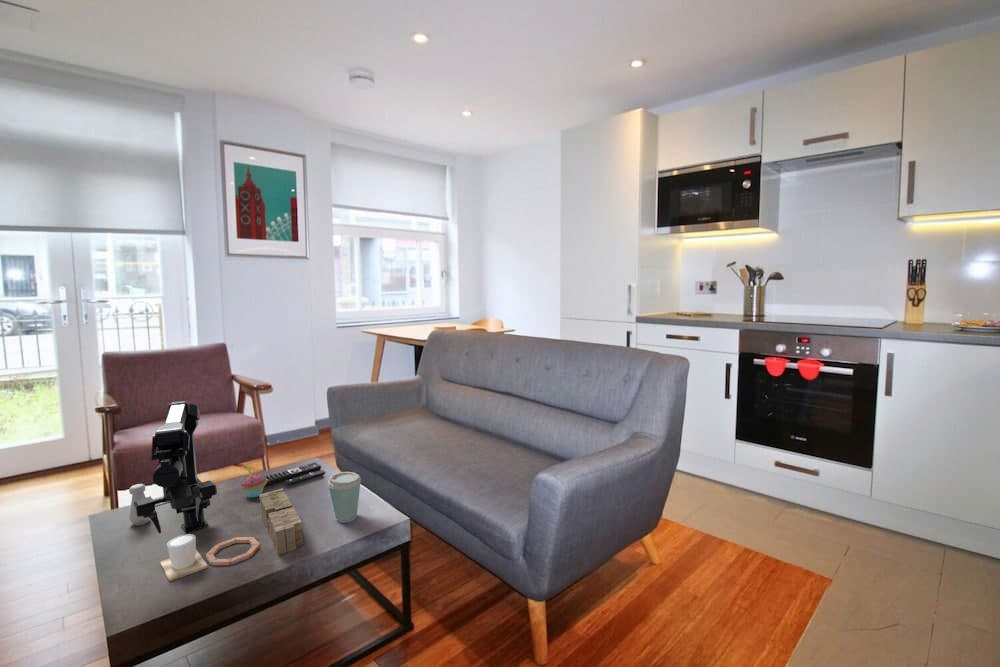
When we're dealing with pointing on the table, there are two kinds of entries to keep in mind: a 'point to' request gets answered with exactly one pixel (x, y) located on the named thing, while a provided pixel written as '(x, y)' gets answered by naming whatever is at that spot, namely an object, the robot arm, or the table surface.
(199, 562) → the beige flat pad
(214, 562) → the ring coaster
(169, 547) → the white cylinder
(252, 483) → the cupcake
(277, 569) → the table surface
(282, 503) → the block tower
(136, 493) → the salt shaker
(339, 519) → the disposable coffee cup
